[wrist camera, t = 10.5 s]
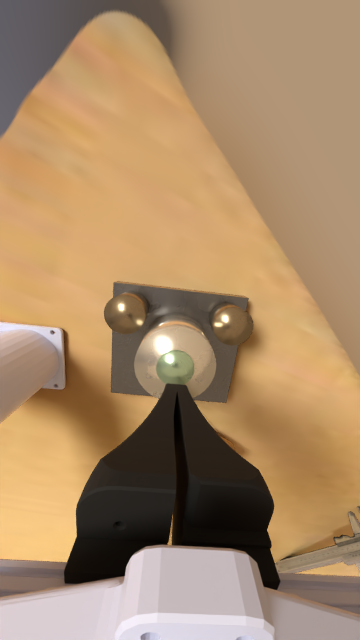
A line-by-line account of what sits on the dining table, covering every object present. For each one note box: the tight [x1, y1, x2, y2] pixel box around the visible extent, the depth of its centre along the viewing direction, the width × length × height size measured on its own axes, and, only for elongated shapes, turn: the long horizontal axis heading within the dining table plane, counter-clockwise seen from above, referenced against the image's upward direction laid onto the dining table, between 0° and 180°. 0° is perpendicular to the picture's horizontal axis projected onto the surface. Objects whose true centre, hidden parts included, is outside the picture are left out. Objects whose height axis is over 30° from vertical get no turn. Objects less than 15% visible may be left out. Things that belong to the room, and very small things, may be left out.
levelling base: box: [104, 281, 253, 403], centre depth 21 cm, size 17×25×7 cm
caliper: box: [275, 507, 360, 573], centre depth 30 cm, size 20×1×6 cm, turn 142°
